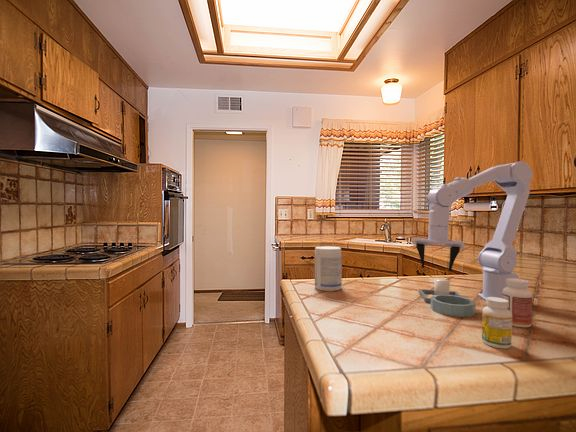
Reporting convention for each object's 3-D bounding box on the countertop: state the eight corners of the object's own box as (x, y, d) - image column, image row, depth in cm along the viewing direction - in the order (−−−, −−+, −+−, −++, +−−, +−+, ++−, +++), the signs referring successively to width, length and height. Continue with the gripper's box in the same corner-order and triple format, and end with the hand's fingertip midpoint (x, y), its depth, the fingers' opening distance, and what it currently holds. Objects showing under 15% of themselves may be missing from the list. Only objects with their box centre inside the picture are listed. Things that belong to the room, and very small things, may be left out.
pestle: (447, 297, 105) (447, 279, 105) (450, 300, 101) (451, 282, 101) (432, 296, 106) (433, 278, 106) (435, 299, 102) (436, 281, 102)
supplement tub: (346, 288, 115) (347, 247, 114) (330, 293, 108) (330, 250, 108) (325, 284, 122) (326, 245, 121) (308, 288, 115) (309, 247, 115)
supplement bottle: (509, 351, 65) (511, 304, 65) (479, 344, 68) (480, 299, 68) (512, 343, 69) (514, 299, 69) (483, 336, 73) (485, 294, 72)
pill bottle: (536, 325, 80) (537, 281, 80) (525, 330, 77) (526, 284, 77) (508, 318, 85) (509, 276, 85) (497, 322, 82) (498, 279, 82)
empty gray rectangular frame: (456, 294, 108) (456, 291, 108) (468, 305, 96) (468, 301, 96) (418, 292, 111) (418, 288, 111) (425, 302, 99) (425, 298, 99)
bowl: (467, 306, 96) (467, 296, 95) (480, 318, 85) (480, 307, 85) (427, 303, 98) (427, 293, 98) (435, 314, 87) (436, 303, 87)
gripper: (413, 225, 100) (411, 268, 100) (466, 228, 94) (463, 274, 95) (414, 224, 107) (412, 265, 107) (463, 227, 101) (461, 270, 101)
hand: (436, 269), depth 101 cm, fingers open, 7 cm apart
